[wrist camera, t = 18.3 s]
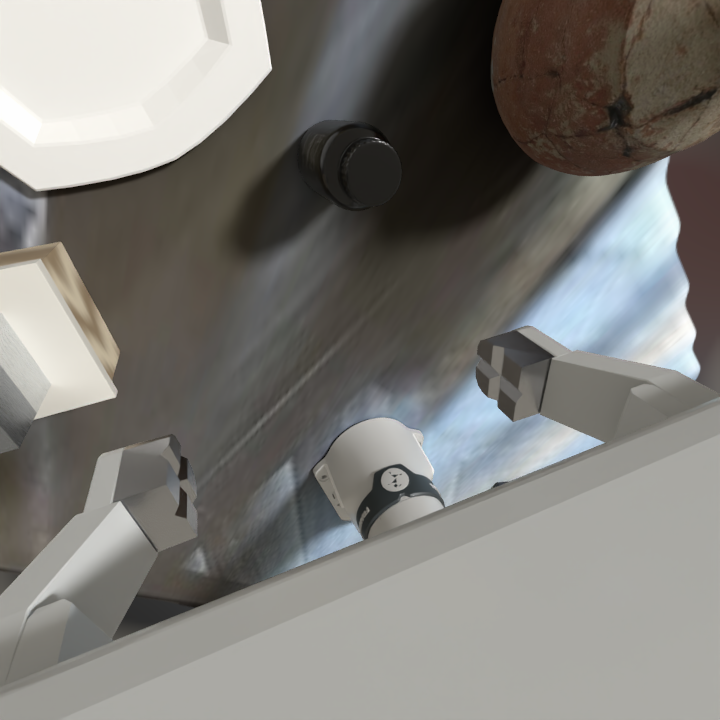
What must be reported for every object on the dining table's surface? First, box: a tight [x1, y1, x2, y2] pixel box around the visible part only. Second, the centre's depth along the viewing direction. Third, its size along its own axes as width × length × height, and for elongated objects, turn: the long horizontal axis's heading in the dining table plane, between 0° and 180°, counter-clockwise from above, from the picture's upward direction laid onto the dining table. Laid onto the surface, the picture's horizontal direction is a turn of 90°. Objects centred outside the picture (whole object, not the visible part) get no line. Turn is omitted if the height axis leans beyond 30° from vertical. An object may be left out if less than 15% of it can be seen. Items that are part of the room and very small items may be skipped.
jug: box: [491, 0, 720, 176], centre depth 29 cm, size 22×22×30 cm
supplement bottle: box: [298, 120, 402, 211], centre depth 35 cm, size 7×7×12 cm
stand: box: [0, 242, 120, 420], centre depth 35 cm, size 13×13×8 cm
